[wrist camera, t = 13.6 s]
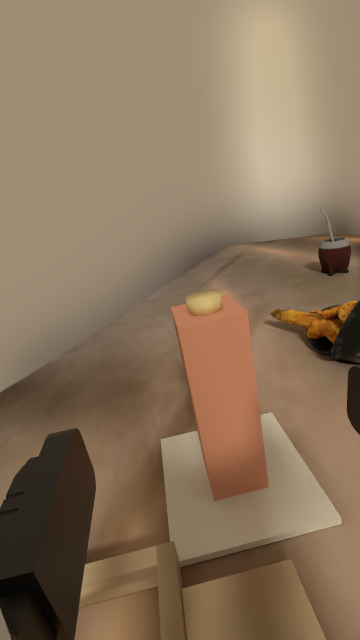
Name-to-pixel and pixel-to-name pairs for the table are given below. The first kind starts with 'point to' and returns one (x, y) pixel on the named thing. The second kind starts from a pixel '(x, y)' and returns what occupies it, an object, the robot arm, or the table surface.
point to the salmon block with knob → (222, 391)
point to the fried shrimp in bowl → (329, 329)
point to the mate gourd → (334, 253)
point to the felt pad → (240, 500)
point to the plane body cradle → (208, 598)
